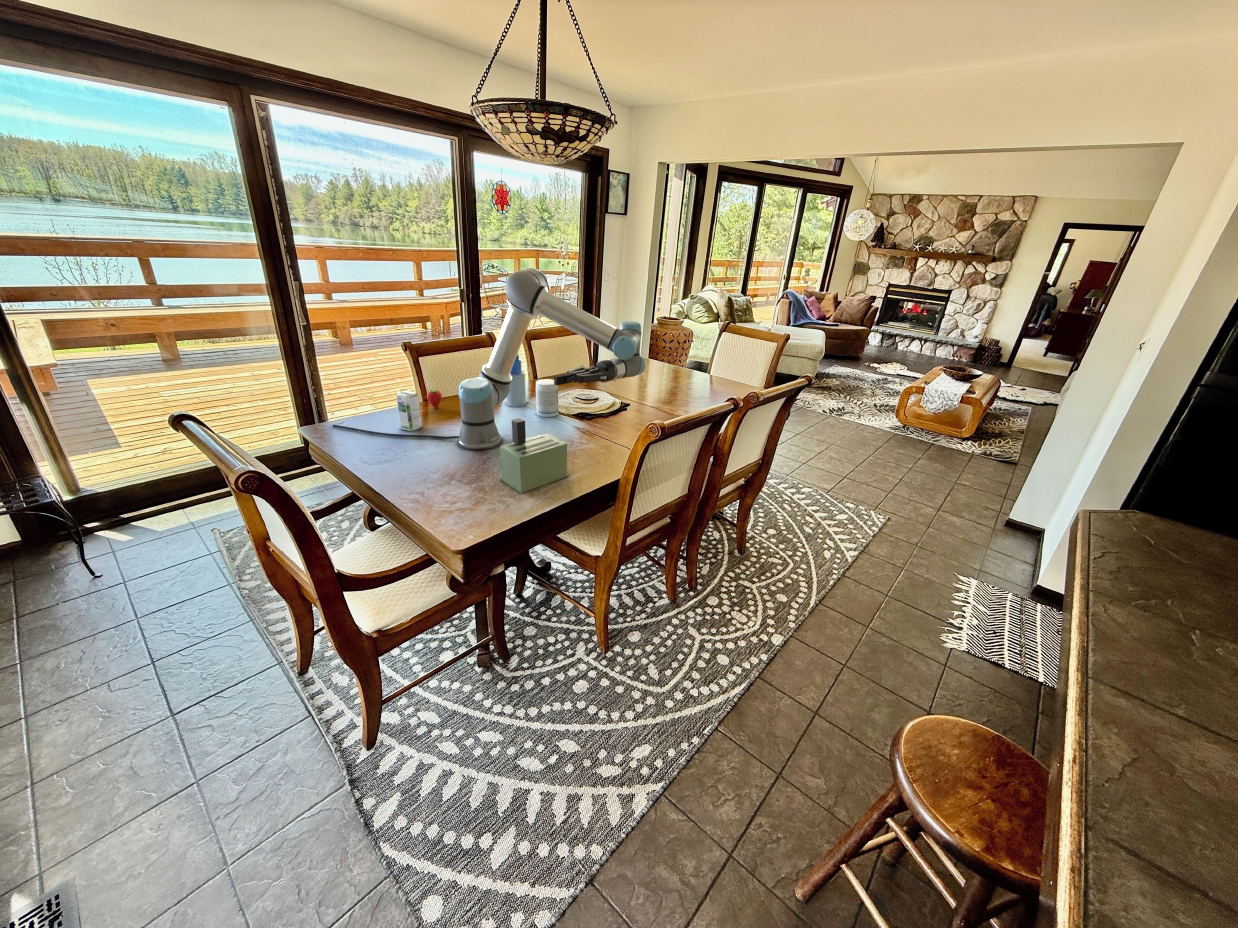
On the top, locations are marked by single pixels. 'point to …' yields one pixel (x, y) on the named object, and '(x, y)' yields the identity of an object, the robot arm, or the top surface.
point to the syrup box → (408, 410)
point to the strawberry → (434, 397)
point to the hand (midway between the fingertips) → (555, 380)
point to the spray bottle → (517, 385)
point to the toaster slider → (518, 431)
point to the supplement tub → (546, 398)
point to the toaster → (533, 462)
